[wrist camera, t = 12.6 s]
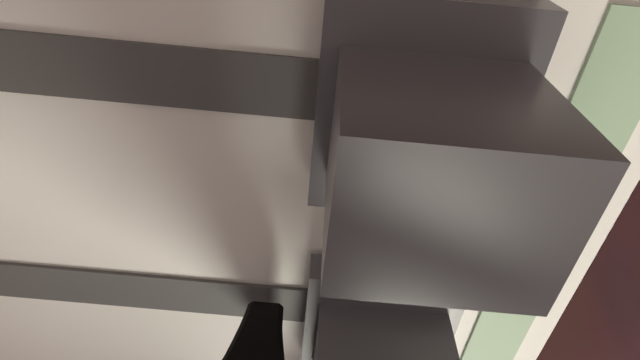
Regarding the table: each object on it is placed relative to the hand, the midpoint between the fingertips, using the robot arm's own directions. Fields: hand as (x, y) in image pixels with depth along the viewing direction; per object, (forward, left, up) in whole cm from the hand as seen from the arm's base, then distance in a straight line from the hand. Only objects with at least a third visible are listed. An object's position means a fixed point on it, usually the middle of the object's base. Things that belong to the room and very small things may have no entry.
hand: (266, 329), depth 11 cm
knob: (+6, -3, -1) cm, 7 cm away
